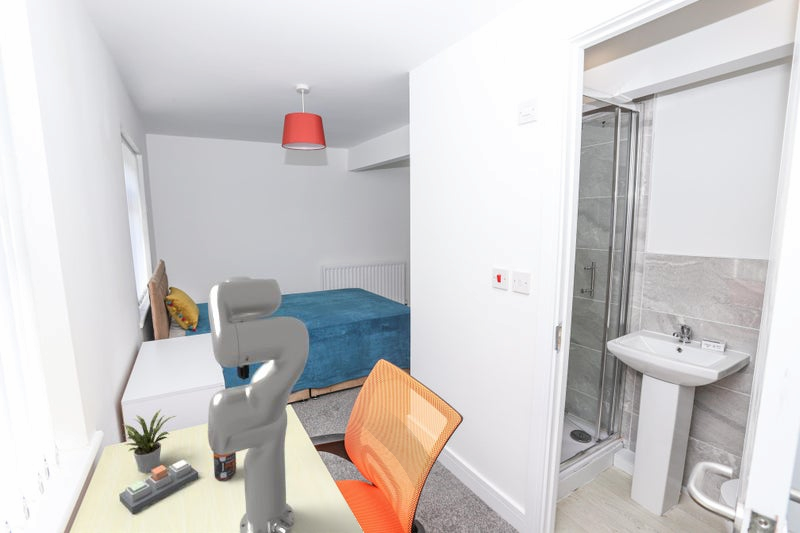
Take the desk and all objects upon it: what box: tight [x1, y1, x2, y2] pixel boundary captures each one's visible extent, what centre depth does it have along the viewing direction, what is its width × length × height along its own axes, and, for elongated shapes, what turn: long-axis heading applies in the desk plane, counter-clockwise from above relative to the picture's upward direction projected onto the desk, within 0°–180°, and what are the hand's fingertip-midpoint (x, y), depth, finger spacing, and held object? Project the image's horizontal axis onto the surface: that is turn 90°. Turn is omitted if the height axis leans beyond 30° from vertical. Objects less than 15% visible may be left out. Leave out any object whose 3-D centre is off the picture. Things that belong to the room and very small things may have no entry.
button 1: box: [128, 480, 146, 493], centre depth 106 cm, size 3×3×2 cm
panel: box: [118, 458, 199, 515], centre depth 110 cm, size 8×17×4 cm, turn 145°
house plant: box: [121, 409, 176, 474], centre depth 120 cm, size 14×14×16 cm
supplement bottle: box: [212, 451, 237, 481], centre depth 116 cm, size 6×6×11 cm
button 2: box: [150, 464, 168, 482], centre depth 110 cm, size 3×3×2 cm
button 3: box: [172, 459, 187, 471], centre depth 115 cm, size 3×3×2 cm
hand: (243, 377), depth 120 cm, fingers closed
